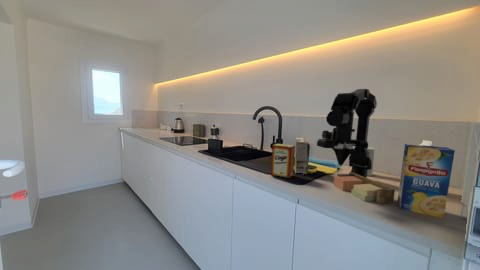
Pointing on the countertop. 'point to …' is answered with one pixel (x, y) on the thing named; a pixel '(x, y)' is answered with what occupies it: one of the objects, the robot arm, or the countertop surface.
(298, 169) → the grey drink carton
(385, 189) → the shelf wall
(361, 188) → the pale green block
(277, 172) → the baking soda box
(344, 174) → the bookend
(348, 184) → the reddish brown block
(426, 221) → the countertop surface
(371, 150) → the skincare box
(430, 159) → the beverage box
